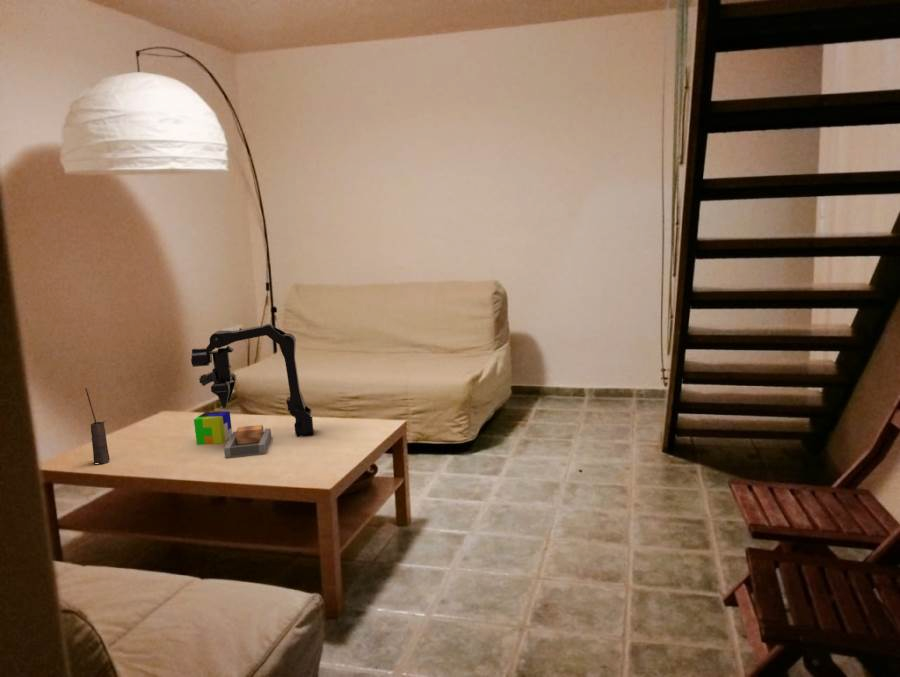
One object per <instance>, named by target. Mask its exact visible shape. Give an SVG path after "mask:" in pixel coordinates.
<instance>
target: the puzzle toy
mask: <svg viewBox="0 0 900 677" xmlns="http://www.w3.org/2000/svg"><path fill="white" fill-rule="evenodd" d="M193 423H194V424H193V425H194V431H195V432H194V433H195V440H196V441H195V442H196V445H222V444H223V443H225V442H226V441H228V440H229V439H230V437H231V435H232V433H233V427H232V419H231V412H230V411H205V412H204V413H202V414H200V415H199V416H197V417H196V418H194V419H193Z"/></svg>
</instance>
